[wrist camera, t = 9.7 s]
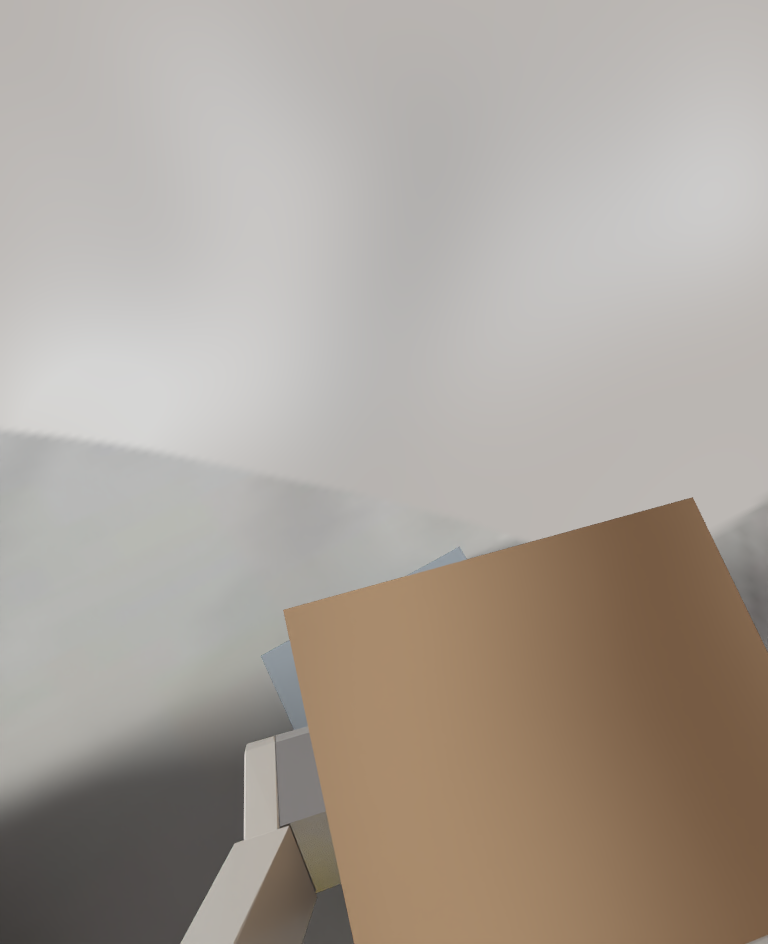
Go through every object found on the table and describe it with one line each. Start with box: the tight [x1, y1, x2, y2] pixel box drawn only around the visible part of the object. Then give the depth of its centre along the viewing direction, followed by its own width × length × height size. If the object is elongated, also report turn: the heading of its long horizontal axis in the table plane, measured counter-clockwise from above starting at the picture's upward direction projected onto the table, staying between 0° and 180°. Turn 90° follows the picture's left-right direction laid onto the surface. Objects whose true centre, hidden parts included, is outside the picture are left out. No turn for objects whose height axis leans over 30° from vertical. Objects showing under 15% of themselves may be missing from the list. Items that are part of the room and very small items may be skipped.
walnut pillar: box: [283, 498, 768, 944], centre depth 10 cm, size 5×5×10 cm
